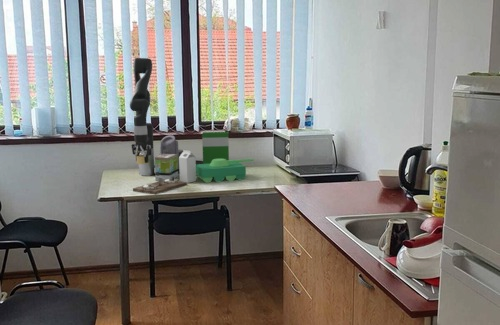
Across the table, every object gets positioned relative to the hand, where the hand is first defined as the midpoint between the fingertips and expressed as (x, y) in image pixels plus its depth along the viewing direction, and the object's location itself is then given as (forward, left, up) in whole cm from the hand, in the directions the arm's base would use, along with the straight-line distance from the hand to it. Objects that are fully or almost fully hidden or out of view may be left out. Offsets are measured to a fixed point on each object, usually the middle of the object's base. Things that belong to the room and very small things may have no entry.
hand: (142, 162), depth 310 cm
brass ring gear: (0, 0, -1) cm, 1 cm away
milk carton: (+16, +22, -14) cm, 30 cm away
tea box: (-1, +22, -14) cm, 27 cm away
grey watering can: (-14, +43, -14) cm, 48 cm away
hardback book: (+3, +69, -14) cm, 71 cm away
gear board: (+13, 0, -14) cm, 19 cm away
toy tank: (+31, +42, -14) cm, 54 cm away
